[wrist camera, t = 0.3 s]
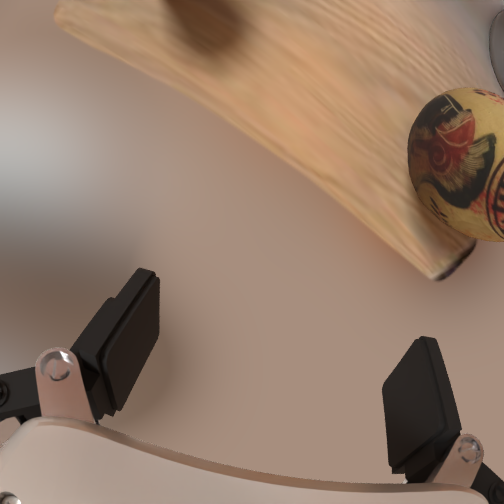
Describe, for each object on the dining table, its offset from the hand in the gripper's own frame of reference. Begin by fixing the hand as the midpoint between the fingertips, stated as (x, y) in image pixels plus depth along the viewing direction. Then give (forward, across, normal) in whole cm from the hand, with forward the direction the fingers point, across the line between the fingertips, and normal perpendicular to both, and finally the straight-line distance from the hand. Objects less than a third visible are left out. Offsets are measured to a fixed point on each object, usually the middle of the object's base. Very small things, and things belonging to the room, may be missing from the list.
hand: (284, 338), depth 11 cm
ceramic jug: (+31, -18, -7) cm, 37 cm away
